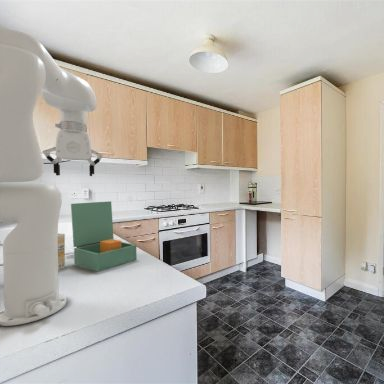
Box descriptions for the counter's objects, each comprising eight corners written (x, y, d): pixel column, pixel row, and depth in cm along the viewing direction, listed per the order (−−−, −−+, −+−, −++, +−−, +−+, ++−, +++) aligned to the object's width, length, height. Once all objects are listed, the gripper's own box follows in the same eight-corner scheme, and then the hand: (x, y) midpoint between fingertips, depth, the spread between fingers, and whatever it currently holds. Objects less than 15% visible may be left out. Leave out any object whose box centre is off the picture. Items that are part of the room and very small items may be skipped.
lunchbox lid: (111, 201, 100) (105, 201, 102) (71, 203, 87) (66, 204, 89) (113, 239, 100) (107, 238, 102) (74, 247, 87) (68, 246, 89)
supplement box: (40, 278, 76) (39, 238, 76) (29, 276, 77) (28, 237, 77) (65, 269, 84) (65, 233, 84) (55, 268, 85) (54, 232, 85)
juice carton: (121, 262, 89) (121, 240, 89) (109, 266, 85) (109, 243, 85) (112, 260, 92) (112, 238, 92) (100, 263, 88) (100, 241, 88)
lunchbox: (136, 261, 93) (136, 244, 93) (97, 273, 80) (97, 254, 80) (113, 255, 100) (113, 240, 100) (74, 266, 87) (74, 248, 87)
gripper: (39, 123, 77) (41, 174, 77) (102, 130, 86) (102, 176, 87) (44, 127, 83) (46, 175, 84) (102, 133, 92) (103, 176, 93)
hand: (75, 175), depth 85 cm, fingers open, 9 cm apart
